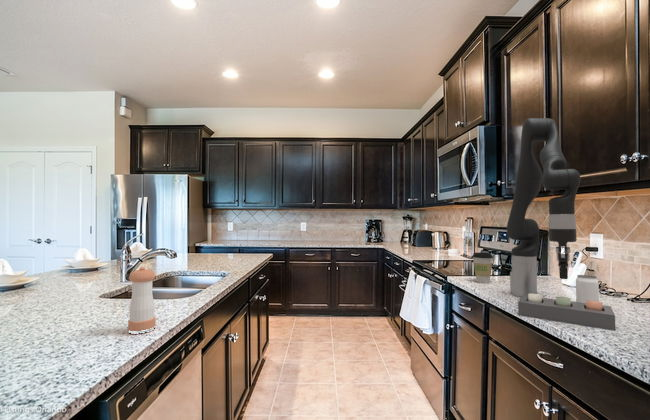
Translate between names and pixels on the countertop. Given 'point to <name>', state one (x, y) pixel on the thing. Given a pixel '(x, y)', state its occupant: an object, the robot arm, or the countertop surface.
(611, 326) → the panel
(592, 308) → the button terracotta
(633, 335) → the countertop surface
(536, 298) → the button cream
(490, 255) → the coffee cup
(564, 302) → the button sage
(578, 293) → the grey block
